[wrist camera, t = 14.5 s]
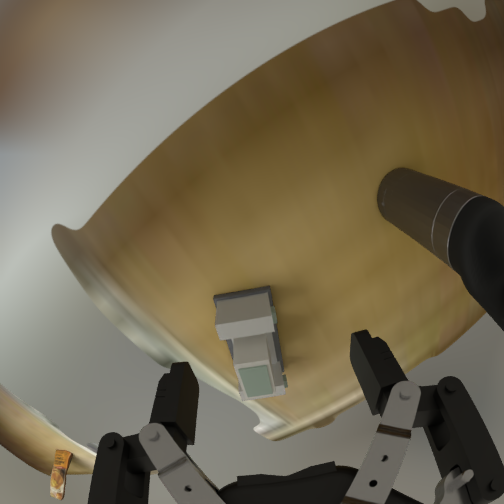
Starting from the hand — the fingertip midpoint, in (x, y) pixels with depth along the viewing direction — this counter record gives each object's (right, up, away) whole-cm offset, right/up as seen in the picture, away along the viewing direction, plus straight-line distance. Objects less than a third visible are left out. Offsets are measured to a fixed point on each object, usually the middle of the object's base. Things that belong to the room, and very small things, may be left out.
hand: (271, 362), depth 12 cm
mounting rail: (-1, -10, +35) cm, 36 cm away
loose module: (-1, -10, +34) cm, 35 cm away
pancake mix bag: (-89, -90, +66) cm, 143 cm away
